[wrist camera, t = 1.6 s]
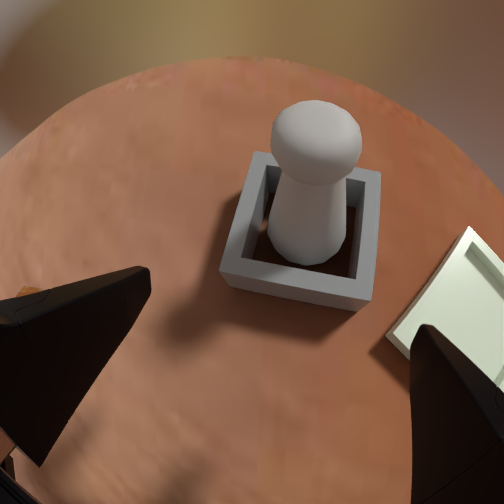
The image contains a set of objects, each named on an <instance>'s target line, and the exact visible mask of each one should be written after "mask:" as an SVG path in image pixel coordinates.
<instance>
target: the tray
mask: <svg viewBox="0 0 504 504" xmlns="http://www.w3.org/2000/svg"><path fill="white" fill-rule="evenodd" d="M421 324H430V325H433V326H434V327H436V328H437V329H438V330H439V331H440V332H441V333H442V334H443V335H444V336H446V337H447V338H448V339H449V340H450V341H451V342H452V343H453V344H454V345H455V346H456V347H458V348H459V349H460V350H461V351H462V352H463V353H464V354H465V355H466V356H467V357H468V358H469V359H470V360H471V361H472V362H473V363H474V364H475V365H477V366H478V367H479V368H480V369H481V370H482V371H483V372H484V373H485V374H486V375H487V376H488V377H489V378H490V379H491V380H492V381H493V382H494V383H495V384H496V385H497V387H499V388H500V389H501V390H502V391H503V392H504V263H503V262H502V261H501V260H500V259H499V258H498V256H497V255H496V254H495V253H494V252H493V251H492V250H491V249H490V247H489V246H488V245H487V244H486V243H485V242H484V241H483V240H482V239H481V238H480V237H479V236H478V235H477V234H476V232H475V231H474V230H473V229H472V228H471V227H470V226H468V227H467V228H466V229H465V230H464V231H463V232H462V233H461V234H460V235H459V236H458V238H457V239H456V241H455V242H454V244H453V246H452V247H451V249H450V250H449V252H448V253H447V255H446V256H445V258H444V259H443V261H442V262H441V264H440V265H439V267H438V268H437V269H436V271H435V272H434V274H433V275H432V276H431V278H430V279H429V281H428V282H427V283H426V285H425V286H424V287H423V289H422V290H421V291H420V293H419V294H418V295H417V297H416V298H415V299H414V301H413V302H412V303H411V304H410V306H409V307H408V308H407V310H406V311H405V312H404V313H403V315H402V316H401V317H400V318H399V319H398V321H397V322H396V323H395V324H394V325H393V327H392V328H391V329H390V330H389V331H388V333H387V334H386V335H385V337H386V338H387V339H388V340H389V341H390V342H391V343H392V344H393V345H394V346H395V347H396V348H397V349H398V350H399V351H400V352H401V353H402V354H403V355H404V356H405V357H406V358H407V359H408V360H409V361H410V346H411V343H412V341H413V339H414V337H415V335H416V332H417V330H418V328H419V326H420V325H421Z"/></svg>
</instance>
